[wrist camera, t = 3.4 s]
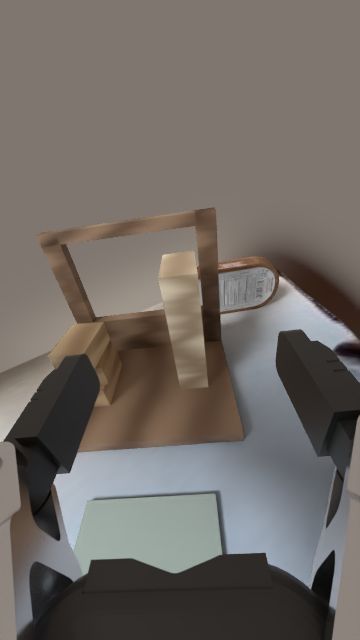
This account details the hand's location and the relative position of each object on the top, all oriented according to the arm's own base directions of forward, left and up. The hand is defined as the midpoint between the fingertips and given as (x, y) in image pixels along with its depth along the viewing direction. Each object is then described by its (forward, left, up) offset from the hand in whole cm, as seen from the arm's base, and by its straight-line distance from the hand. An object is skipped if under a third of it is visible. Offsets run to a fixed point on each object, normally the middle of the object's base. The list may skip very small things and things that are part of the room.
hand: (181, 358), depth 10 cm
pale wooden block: (0, +12, -13) cm, 18 cm away
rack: (-5, +11, -14) cm, 19 cm away
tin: (+7, +26, -15) cm, 30 cm away
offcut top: (-11, +11, -8) cm, 17 cm away
